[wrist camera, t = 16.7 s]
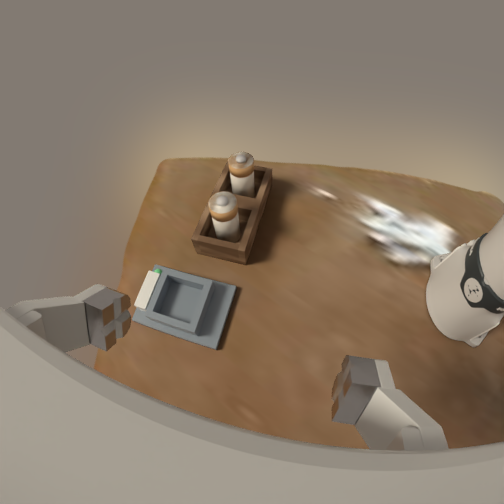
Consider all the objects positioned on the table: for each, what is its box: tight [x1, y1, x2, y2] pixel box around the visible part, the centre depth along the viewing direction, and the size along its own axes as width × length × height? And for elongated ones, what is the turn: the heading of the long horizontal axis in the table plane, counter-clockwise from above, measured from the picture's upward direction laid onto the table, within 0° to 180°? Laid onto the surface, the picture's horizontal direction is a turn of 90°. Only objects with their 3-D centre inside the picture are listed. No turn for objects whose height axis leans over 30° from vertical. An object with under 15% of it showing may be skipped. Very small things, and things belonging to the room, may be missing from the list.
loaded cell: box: [228, 152, 255, 198], centre depth 48 cm, size 4×4×9 cm
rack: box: [191, 161, 272, 265], centre depth 49 cm, size 18×8×4 cm, turn 164°
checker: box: [132, 264, 237, 350], centre depth 41 cm, size 10×14×4 cm
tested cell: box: [208, 191, 240, 243], centre depth 44 cm, size 4×4×9 cm
